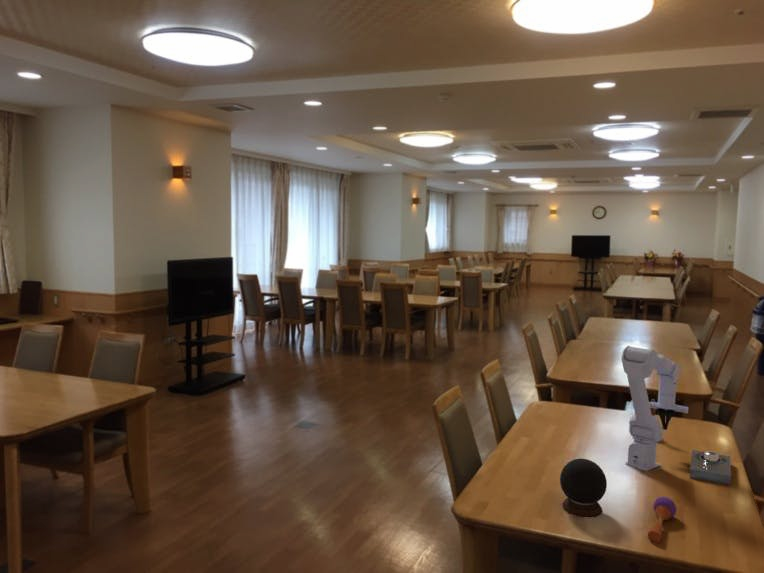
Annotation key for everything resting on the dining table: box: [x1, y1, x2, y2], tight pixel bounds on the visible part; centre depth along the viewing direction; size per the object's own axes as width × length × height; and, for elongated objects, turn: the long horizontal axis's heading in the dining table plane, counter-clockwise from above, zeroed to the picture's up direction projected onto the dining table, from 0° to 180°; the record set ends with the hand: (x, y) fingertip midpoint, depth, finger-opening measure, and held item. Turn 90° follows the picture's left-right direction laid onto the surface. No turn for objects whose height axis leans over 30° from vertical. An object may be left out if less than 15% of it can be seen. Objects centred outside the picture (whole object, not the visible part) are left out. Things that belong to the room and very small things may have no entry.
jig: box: [689, 449, 732, 486], centre depth 206 cm, size 20×12×3 cm, turn 151°
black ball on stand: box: [559, 458, 608, 519], centre depth 177 cm, size 13×13×15 cm
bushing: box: [704, 450, 720, 462], centre depth 210 cm, size 4×4×5 cm
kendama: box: [647, 496, 677, 544], centre depth 167 cm, size 6×6×20 cm
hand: (665, 428), depth 221 cm, fingers closed
